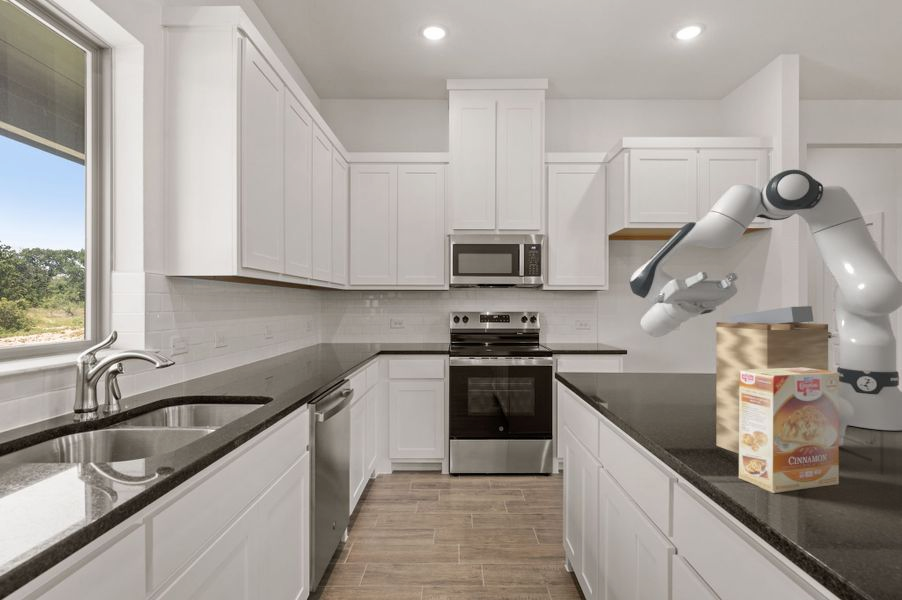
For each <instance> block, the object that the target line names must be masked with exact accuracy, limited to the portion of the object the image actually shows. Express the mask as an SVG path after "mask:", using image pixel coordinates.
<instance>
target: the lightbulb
mask: <svg viewBox="0 0 902 600" xmlns="http://www.w3.org/2000/svg"><path fill="white" fill-rule="evenodd" d="M853 415H854V410H853V408H852V406H851V404H850V403H849V402H848V401H846V400H845V399H843V398H840V397H839V447H841V446H843V445H844V437H845V435H846V428H847V426H849V425H848V423H849V422H850V421H851V419H852V418H853Z"/></svg>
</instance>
